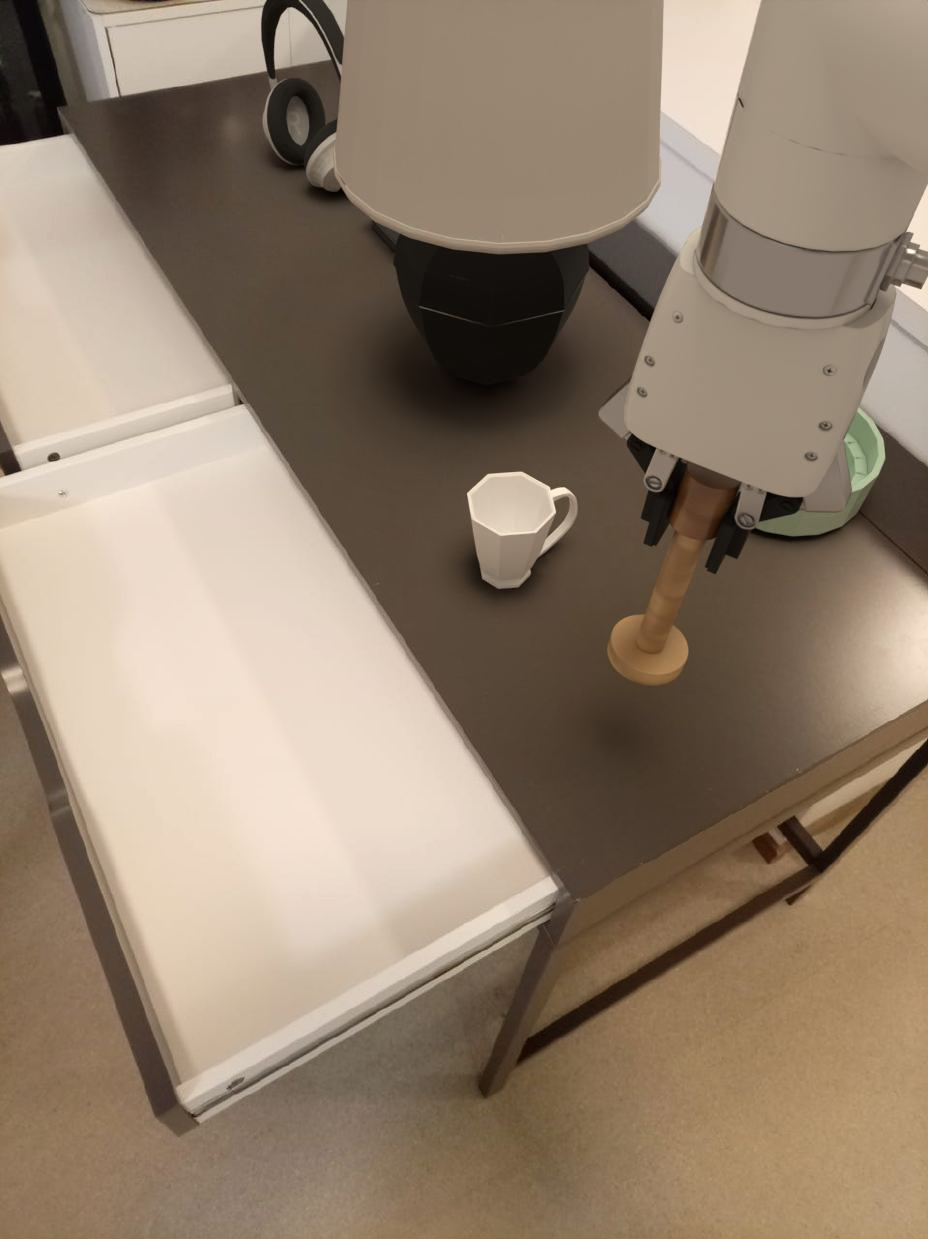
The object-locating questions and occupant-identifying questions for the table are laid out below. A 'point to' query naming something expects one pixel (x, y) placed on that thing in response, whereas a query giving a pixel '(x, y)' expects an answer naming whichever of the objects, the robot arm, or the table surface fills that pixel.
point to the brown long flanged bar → (673, 581)
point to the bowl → (863, 469)
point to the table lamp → (498, 158)
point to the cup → (514, 524)
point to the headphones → (301, 97)
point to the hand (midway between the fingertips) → (688, 540)
